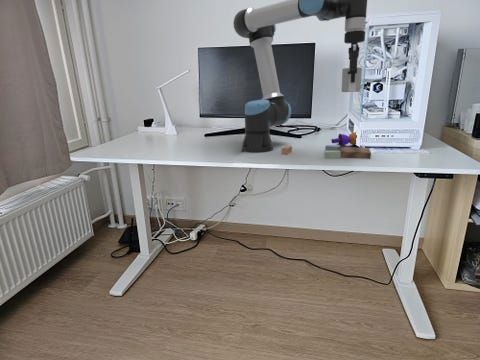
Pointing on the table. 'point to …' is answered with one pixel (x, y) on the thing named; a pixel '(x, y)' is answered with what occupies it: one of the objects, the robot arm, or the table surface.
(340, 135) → the toy
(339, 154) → the brick sage
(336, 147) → the brick blue
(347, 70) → the cup
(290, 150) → the brick terracotta
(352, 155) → the slab
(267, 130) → the robot arm
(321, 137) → the table surface
